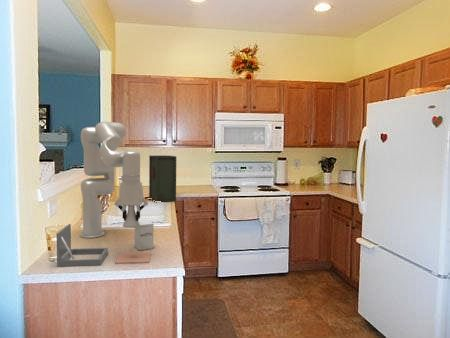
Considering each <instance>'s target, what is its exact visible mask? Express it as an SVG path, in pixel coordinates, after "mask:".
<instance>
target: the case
mask: <svg viewBox="0 0 450 338" xmlns="http://www.w3.org/2000/svg"><path fill="white" fill-rule="evenodd" d="M71 227H72V225H71V223H68V224H67V225H65V226H64V227H63V228H62V229H61V230H59V231H57V232H56V267H57V268H59V267H61V268H63V267H87V266H88V267H91V266H92V267H93V266H94V267H95V266H101V265H102V264H103V262H104V260H105V258H107V256H108V254H109V247H91V248H86V247H85V248H72V236H71V235H72V233H71V231H72V230H71V229H72V228H71ZM75 255H76V256H77V255H100V256H99V257H97V258H87V259H85V258H84V259H83V258H81V259H79V258H77V259H76V258H75ZM71 258H72V259H71Z"/></svg>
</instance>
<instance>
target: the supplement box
mask: <svg viewBox="0 0 450 338" xmlns="http://www.w3.org/2000/svg"><path fill="white" fill-rule="evenodd" d="M139 224H140V225H139V226H138V227H134V248H135V249H136V250H138V252H141V251H143V250H151V249H154V223H153V222H152V221H149V220H145V221H144V220H143V221H139Z"/></svg>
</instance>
